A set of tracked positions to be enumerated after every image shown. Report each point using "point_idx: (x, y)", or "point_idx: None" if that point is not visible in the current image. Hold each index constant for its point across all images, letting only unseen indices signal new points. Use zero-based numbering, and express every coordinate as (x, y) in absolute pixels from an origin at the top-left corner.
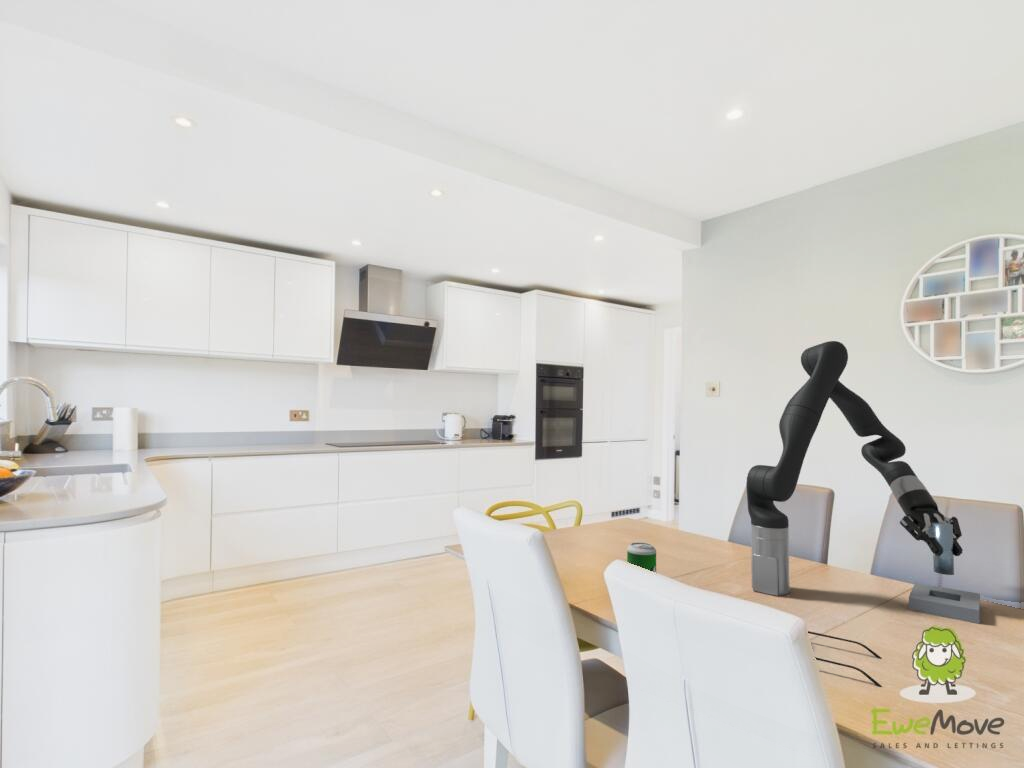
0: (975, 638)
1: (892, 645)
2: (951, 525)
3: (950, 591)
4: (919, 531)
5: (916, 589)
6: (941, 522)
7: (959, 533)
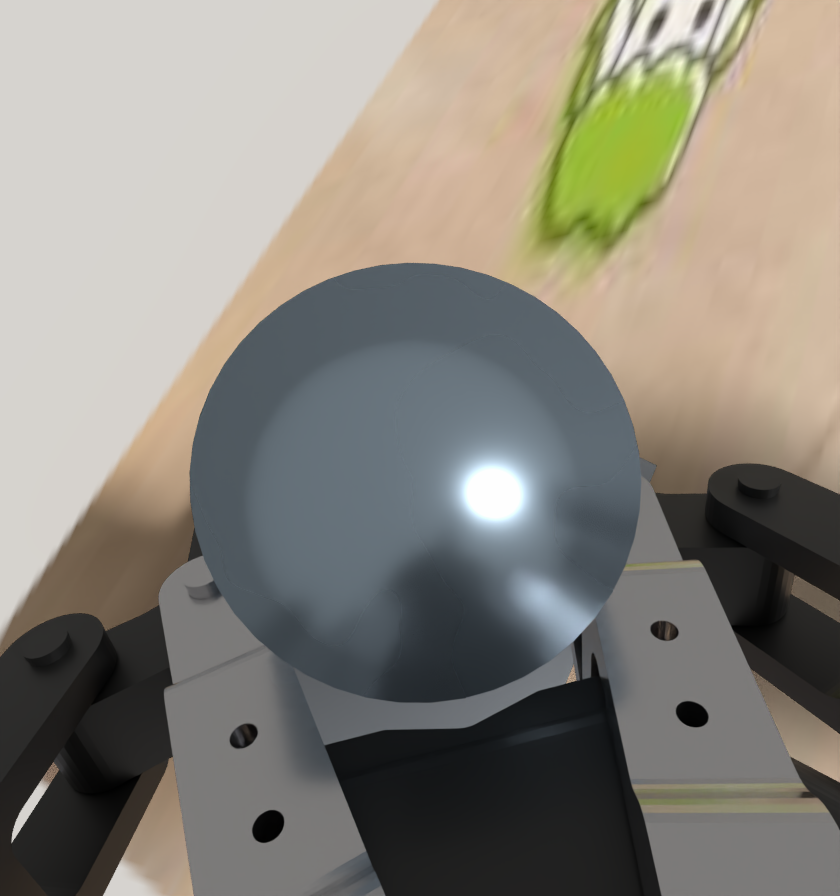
0: (477, 159)
1: (831, 18)
2: (283, 307)
3: (312, 700)
4: (810, 505)
5: (542, 674)
6: (336, 681)
7: (41, 642)
